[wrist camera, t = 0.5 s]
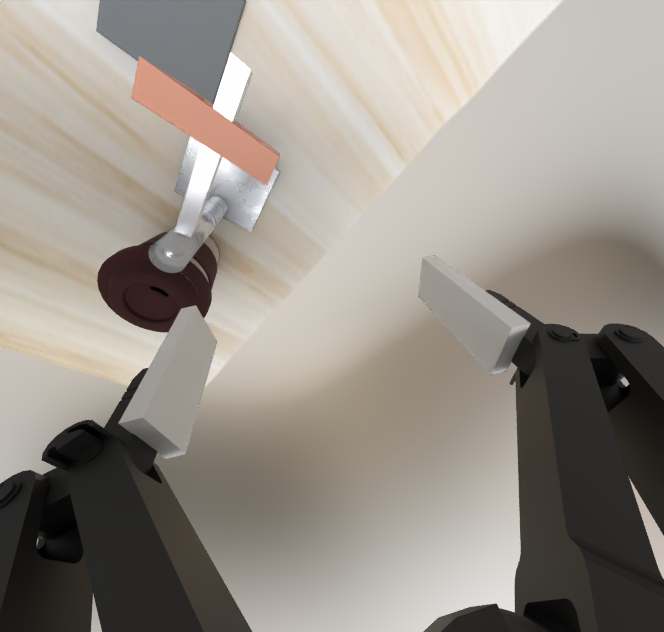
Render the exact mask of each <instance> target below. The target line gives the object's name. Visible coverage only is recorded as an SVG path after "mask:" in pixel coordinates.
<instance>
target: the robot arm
mask: <svg viewBox="0 0 664 632" xmlns="http://www.w3.org/2000/svg"><path fill="white" fill-rule="evenodd" d="M418 297H419V298H420V299H421V300H422V301H423V302H424V303H425V305H426V306H427V307H428V308H429V309H430V310H431V311H432V312H433V313H434V314H435V315H436V316H437V317H438V319H439V320H440V321H441V322H442V323H443V324H444V325H445V326H446V327H447V328H448V329H449V330H450V332H451V333H452V334H453V335H454V336H455V337H456V338H457V339H458V340H459V341H460V342H461V343H462V345H463V346H464V347H465V348H466V349H467V350H468V351H469V352H470V353H471V354H472V355H473V357H474V358H475V359H476V360H477V361H478V362H479V363H480V364H481V365H482V366H483V367H484V368H485V369H486V371H487V372H488V373H489V374H490V375H493V374H497V373H501V372H505V371H507V369H508V367H509V365H510V363H511V362H513V363H514V364H515V365H516V366H517V367H518V368H517V370H516V372H515V373H514V375H513V377H512V379H511V381H510V384H511V385H513V383H514V381H516V411H517V439H518V440H517V443H518V473H519V507H520V539H521V556H520V561H519V564H518V567H517V570H516V576H515V612H511V611H508V610H504V609H499V608H498V605H497V604H490V605H482V606H475V607H469V608H466V609H463V610H460V611H457V612H454V613H451V614H448V615H445V616H442V617H439V618H438V619H437V620H435V621H434V622H433V623H432V624H431V625H430V626H429V627H428V628H427V629H426V630H425V631H424V632H664V579H663V578H662V576H661V573H660V571H659V569H658V566H657V563H656V560H655V557H654V554H653V551H652V548H651V545H650V541H649V538H648V536H647V532H646V529H645V526H644V523H643V520H642V517H641V514H640V511H639V508H638V505H637V502H636V498H635V495H634V492H633V489H632V486H631V483H630V480H629V478H630V479H631V481H632V483H633V484H634V486H635V488H636V490H637V491H638V493H639V495H640V496H641V498H642V500H643V501H644V503H645V505H646V507H647V508H648V510H649V512H650V513H651V515H652V517H653V518H654V520H655V522H656V523H657V525H658V527H659V528H660V530H661V532H662V533H663V535H664V347H663V346H662V345H661V344H660V343H659V342H658V341H657V340H655V339H654V338H653V337H652V336H650V335H649V334H648V333H646V332H645V331H642V330H640V329H638V328H636V327H633V326H629V325H624V324H608V325H605V326H604V327H603V328H602V330H601V331H600V332H599V333H598V334H579V333H577V332H576V331H575V330H573V329H570V328H569V327H566V326H562V325H558V324H543V323H542V322H540V321H539V320H537V319H536V318H534V317H533V316H532V315H530V314H529V313H527V312H526V311H524V310H523V309H521V308H519V307H517V306H516V305H515V304H514V303H512V302H509V300H508V299H507V298H505V297H504V296H502V295H501V294H498V293H496V292H493V291H490V290H486V291H485V290H483V289H482V288H480V287H479V286H477V285H476V284H475V283H473V282H472V281H471V280H469V279H468V278H466V277H465V276H464V275H462V274H461V273H459V272H458V271H457V270H455V269H454V268H452V267H451V266H449V265H448V264H447V263H445V262H444V261H442V260H441V259H440V258H438V257H437V256H435V255H433V256H428V257H424V258H423V259H422V267H421V276H420V285H419V293H418ZM216 344H217V340H216V339H215V337H214V335H213V334H212V332H211V330H210V329H209V327H208V325H207V323H206V322H205V320H204V318H203V317H202V315H201V313H200V312H199V310H198V308H197V306H196V305H195V306H191V307H186V308H181V310H180V312H179V314H178V316H177V318H176V319H175V321H174V323H173V325H172V327H171V328H170V330H169V332H168V334H167V336H166V338H165V339H164V341H163V343H162V345H161V347H160V349H159V350H158V352H157V354H156V356H155V358H154V359H153V361H152V363H151V365H150V367H149V368H145V369H143V370H142V371H141V372H140V373H139V374H138V375H137V376H136V377H135V378H134V379H133V380H132V382H131V383H130V385H129V387H128V388H127V392H125V394H124V395H123V397H122V401H120V402H119V404H118V405H117V407H116V409H115V411H114V412H113V414H112V415H111V417H110V419H109V421H108V423H107V424H106V426H105V427H104V428H103V427H101V426H100V425H98V424H97V423H95V422H94V421H93V420H85V421H81V422H78V423H76V424H74V425H72V426H70V427H68V428H67V429H65V430H64V431H63V432H61V433H60V434H59V435H57V436H56V437H55V438H54V439H53V440H52V441H51V442H50V443H49V444H48V446H47V448H46V449H45V451H44V452H43V455H42V461H45V462H47V463H49V464H51V465H53V466H55V467H57V468H55V469H53V470H51V471H49V472H47V473H45V474H43V475H41V474H38V473H36V472H34V471H31V470H28V471H22V472H20V473H18V474H15V475H13V476H11V477H10V478H8V479H7V480H5V481H4V482H2V483H1V484H0V632H91V617H92V600H93V599H92V598H93V594H94V598H95V603H96V607H97V611H98V616H99V619H100V624H101V628H102V632H252V631H251V629H250V627H249V626H248V623H247V622H246V620H245V618H244V616H243V615H242V613H241V611H240V609H239V608H238V606H237V604H236V602H235V601H234V599H233V597H232V595H231V594H230V592H229V590H228V588H227V586H226V585H225V583H224V581H223V579H222V578H221V576H220V574H219V573H218V571H217V569H216V567H215V565H214V564H213V562H212V560H211V558H210V557H209V555H208V553H207V551H206V550H205V548H204V546H203V544H202V542H201V541H200V539H199V538H198V536H197V534H196V532H195V530H194V528H193V527H192V525H191V523H190V521H189V520H188V518H187V516H186V514H185V513H184V511H183V509H182V507H181V506H180V504H179V502H178V500H177V498H176V497H175V495H174V493H173V491H172V490H171V488H170V486H169V485H168V483H167V481H166V479H165V477H164V476H163V474H162V472H161V470H160V469H159V467H158V466H157V465H156V464H155V463H154V459H155V457H156V454H157V453H159V454H160V455H162V456H163V457H164V458H166V459H167V458H171V457H175V456H178V455H183V454H186V451H187V447H188V443H189V440H190V436H191V433H192V429H193V426H194V422H195V418H196V415H197V411H198V408H199V404H200V401H201V397H202V393H203V390H204V387H205V383H206V380H207V376H208V372H209V369H210V365H211V362H212V358H213V355H214V351H215V348H216ZM623 377H625V378H626V379H627V380H628V382H629V385H628V386H627V387H626V386H624V385H623V383H622V382H621V381H620V380H621V379H622V378H623ZM628 476H629V477H628ZM37 538H38V539H39V541H38V545H37Z"/></svg>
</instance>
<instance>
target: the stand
mask: <svg viewBox="0 0 664 632" xmlns="http://www.w3.org/2000/svg"><path fill="white" fill-rule="evenodd" d="M251 76H252V72H251V69H250V68H249V67H247V66H246V65H245V64H244V63H243V62H242V61H240V60H239V59H238V58H237V57H236V56H235V55H233V54H232V53H230V56H229V59H228V62H227V65H226V69H225V72H224V75H223V78H222V81H221V84H220V88H219V91H218V94H217V97H216V100H215V103H214V107H213V109H215V110H216V111H218V112H219V113H220V114H222V115H223V116H224V117H226V118H227V119H229V120H230V121H231V122H233V123H234V124H235V121H236V118H237V116H238V113H239V110H240V107H241V104H242V102H243V99H244V96H245V93H246V90H247V88H248V85H249V82H250V79H251ZM278 173H279V171H278V170H277V169H275V168H274V171H273V173H272V175H271V177H270V179H269V182H268V184H267V186H266V185H265V184H263V183H262V182H260V181H259V180H257V179H256V178H254V177H252V176H251V175H249V174H248V173H246V172H245V171H243V170H242V169H240V168H239V167H237V166H235V165H234V164H232V163H231V162H229V161H228V160H226V159H225V158H223V157H222V156H220V155H219V154H217V153H215V152H214V151H212V150H211V149H209V148H208V147H206V146H205V145H203V144H202V143H200V142H198V141H197V140H195V139H194V138H192V137H191V136H190V138H189V142H188V145H187V149H186V152H185V156H184V159H183V162H182V166H181V169H180V173H179V176H178V179H177V183H176V186H175V190H174V191H175V192H176V193H178V194H180V195H182V196H184V197H185V199H184V202H183V205H182V208H181V211H180V214H179V218H178V221H177V224H176V226H175V227H174V228H173V229H172V230H170V231H169V232H168V233H167V234H165V235H164V236H163V237H162V238H160V239H159V240H158V241H157V242H155V243H154V244H153V245H152V246H151V247H150V248H149V258H150V260H151V262H152V263H153V264H154V265H155V266H156V267H157V268H158V269H160V270H162V271H164V272H168V273H177V272H180V271H182V270H183V269H184V268H185V266H186V265H187V264H188V262H189V261H190V260H191V258H192V257H193V256H194V255H195V253H196V252H197V251H198V249H199V248H200V247H201V245H202V244H203V243H204V241H205V240H206V239H207V237H208V236H209V235H210V233H211V232H212V231H213V229H214V228H215V227H216V225H217V224H218V223H219V222H220V220H221V219H222V218H225V219H227V220H229V221H231V222H232V223H234V224H236V225H238V226H240V227H242V228H244V229H245V230H247V231H249V232H251V231H252V229H253V227H254V225H255V222H256V220H257V218H258V216H259V214H260V212H261V210H262V207H263V205H264V203H265V201H266V199H267V197H268V195H269V192H270V190H271V188H272V186H273V184H274V182H275V180H276V177H277V175H278Z"/></svg>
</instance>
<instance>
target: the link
mask: <svg viewBox="0 0 664 632" xmlns="http://www.w3.org/2000/svg"><path fill="white" fill-rule="evenodd" d="M132 99H134V100H135V101H137V102H138V103H140V104H141V105H143V106H144V107H146V108H148V109H149V110H151V111H152V112H154V113H155V114H157V115H158V116H160V117H161V118H163V119H164V120H166V121H168V122H169V123H171V124H172V125H174V126H175V127H177V128H178V129H180V130H181V131H183V132H185V133H186V134H188V135H189V136H191V137H192V138H194V139H195V140H197V141H198V142H200V143H202V144H203V145H205V146H206V147H208V148H209V149H211V150H212V151H214V152H215V153H217V154H219V155H220V156H222V157H223V158H225V159H226V160H228V161H229V162H231V163H232V164H234V165H235V166H237V167H239V168H240V169H242V170H243V171H245V172H246V173H248V174H249V175H251V176H252V177H254V178H256V179H257V180H259V181H260V182H262V183H263V184H265V185H266V186H267V184H268V182H269V179H270V177H271V175H272V173H273V171H274V168H275V166H276V164H277V162H278V160H279V153H278V152H277V151H276V150H274V149H273V148H272V147H270V146H269V145H268V144H266V143H265V142H263V141H262V140H261V139H259V138H258V137H257V136H255V135H254V134H253V133H251V132H250V131H248V130H247V129H246V128H244V127H243V126H242V125H240V124H239V123H237V122H236V121H235V124H234V123H233V122H231V121H230V120H229V119H227V118H226V117H224V116H223V115H222V114H220V113H219V112H218V111H216V110H215V109H213V107H214V105H213V104H212V103H210V102H209V101H207V100H206V99H205V98H203V97H202V96H201V95H199V94H198V93H197V92H195V91H194V90H192V89H191V88H190V87H188V86H186V85H185V84H183V83H182V82H180V81H178V80H177V79H175V78H174V77H172V76H170V75H169V74H167V73H166V72H164V71H163V70H161V69H159V68H158V67H156V66H155V65H153V64H151V63H150V62H148V61H147V60H145V59H143V58H142V57H140V56H139V60H138V66H137V71H136V77H135V82H134V88H133V93H132Z"/></svg>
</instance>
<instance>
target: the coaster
mask: <svg viewBox="0 0 664 632" xmlns="http://www.w3.org/2000/svg"><path fill="white" fill-rule="evenodd" d="M245 3H246V0H100V4H99V12H98V21H97V30H96V31H97V32H98V33H100V34H101V35H103V36H104V37H105V38H107V39H108V40H110V41H111V42H112V43H114V44H115V45H117V46H118V47H119V48H121V49H122V50H124V51H125V52H126V53H128V54H129V55H131V56H132V57H133V58H135V59H136V60H139V56H140V57H142V58H143V59H145V60H147V61H148V62H150V63H151V64H153V65H155V66H156V67H158V68H159V69H161V70H163V71H164V72H166V73H167V74H169V75H170V76H172V77H174V78H175V79H177V80H178V81H180V82H182V83H183V84H185V85H186V86H188V87H190V88H191V89H192V90H194V91H195V92H197V93H198V94H199V95H201V96H202V97H203V98H205V99H206V100H207V101H209V102H210V103H212V104H214V101H215V98H216V95H217V92H218V89H219V85H220V82H221V79H222V76H223V73H224V69H225V66H226V63H227V60H228V57H229V54H230V50H231V47H232V44H233V41H234V38H235V34H236V31H237V28H238V25H239V22H240V19H241V15H242V12H243V9H244V6H245Z"/></svg>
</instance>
